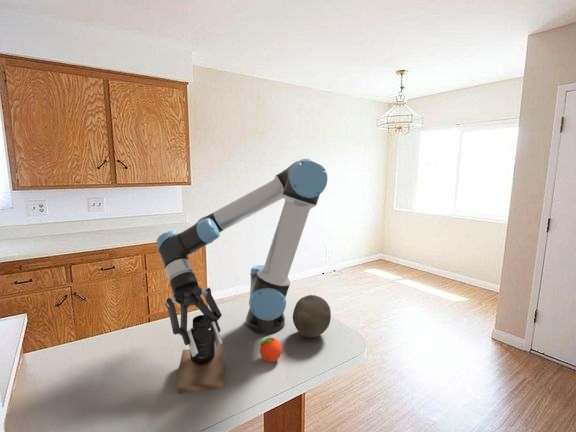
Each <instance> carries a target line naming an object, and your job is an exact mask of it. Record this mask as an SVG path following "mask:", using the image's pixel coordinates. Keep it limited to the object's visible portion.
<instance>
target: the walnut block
mask: <svg viewBox="0 0 576 432" xmlns="http://www.w3.org/2000/svg"><path fill="white" fill-rule="evenodd" d="M224 350H225V349H224V345H220V346H218V347H217V346H215V356H214V358H213V359H212V360H211V361H210V362H208V363H205V364H195V363H193V362H192V361H191V358H190V348H189V349H183V350H182V353H181V357H180V362H179V366H178V370H177V375H176V380H177V381H176V382H177V383H176V384H177V387H176V388H177V394H182V393H190V392H198V391H207V390H213V389H222V388H224V387H225V381H224V380H225V373H224V372H225V371H224V370H225V366H224V365H225V364H224V363H225V362H224V359H225V356H224V354H225V353H224V352H225V351H224Z"/></svg>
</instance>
